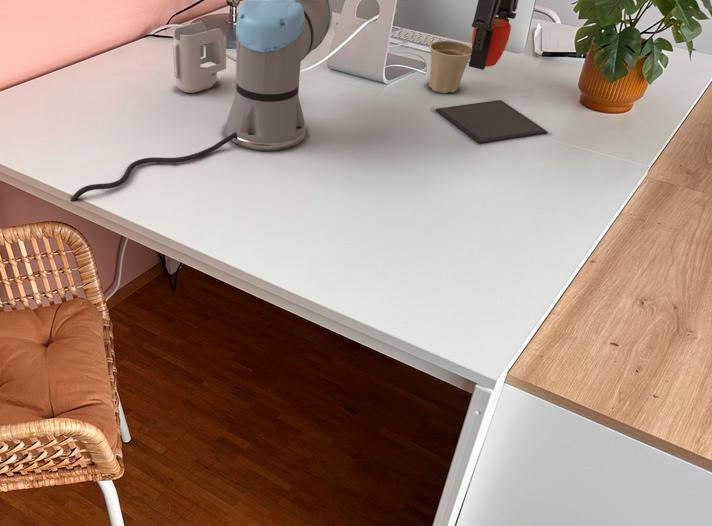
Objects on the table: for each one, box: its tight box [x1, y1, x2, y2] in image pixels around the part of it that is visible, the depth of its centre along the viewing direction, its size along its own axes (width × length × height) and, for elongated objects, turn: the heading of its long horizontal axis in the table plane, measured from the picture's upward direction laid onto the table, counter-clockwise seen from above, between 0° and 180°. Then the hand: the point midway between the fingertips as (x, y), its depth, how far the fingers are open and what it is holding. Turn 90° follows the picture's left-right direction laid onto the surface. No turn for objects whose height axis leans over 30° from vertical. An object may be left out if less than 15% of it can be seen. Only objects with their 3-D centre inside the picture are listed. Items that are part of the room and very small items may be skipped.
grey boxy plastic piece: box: [172, 20, 227, 94], centre depth 149 cm, size 7×12×12 cm, turn 135°
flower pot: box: [428, 40, 472, 94], centre depth 153 cm, size 9×9×9 cm
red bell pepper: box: [471, 18, 512, 68], centre depth 124 cm, size 6×6×8 cm
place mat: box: [435, 99, 548, 145], centre depth 144 cm, size 16×16×1 cm
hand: (484, 61), depth 126 cm, fingers closed on red bell pepper, 6 cm apart
